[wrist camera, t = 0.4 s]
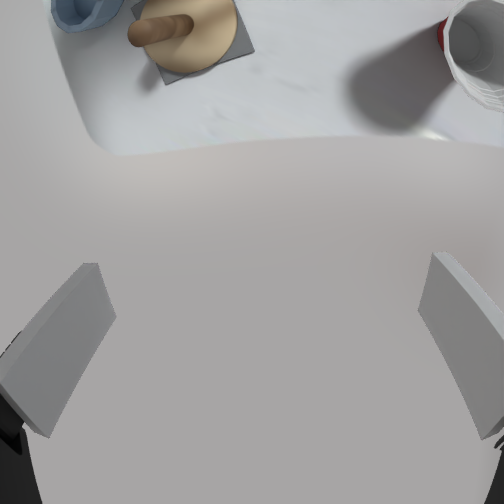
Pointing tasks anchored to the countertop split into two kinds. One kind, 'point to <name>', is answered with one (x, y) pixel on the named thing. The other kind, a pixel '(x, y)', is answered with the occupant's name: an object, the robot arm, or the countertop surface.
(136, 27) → the lid
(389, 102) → the countertop surface
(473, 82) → the plastic cup
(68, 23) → the bowl
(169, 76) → the mat
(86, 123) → the countertop surface
